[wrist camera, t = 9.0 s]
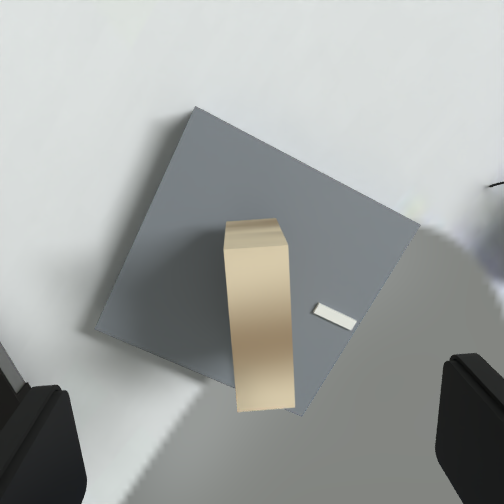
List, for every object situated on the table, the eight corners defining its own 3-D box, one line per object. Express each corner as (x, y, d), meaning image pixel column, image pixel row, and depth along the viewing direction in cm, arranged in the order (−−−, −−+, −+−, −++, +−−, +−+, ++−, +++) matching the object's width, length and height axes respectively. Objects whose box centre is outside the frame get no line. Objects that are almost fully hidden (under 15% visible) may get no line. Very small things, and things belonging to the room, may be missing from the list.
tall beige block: (226, 217, 22) (223, 249, 16) (274, 214, 22) (288, 244, 16) (240, 390, 25) (242, 471, 19) (283, 387, 25) (297, 466, 19)
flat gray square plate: (104, 314, 26) (93, 330, 24) (198, 107, 23) (194, 105, 21) (297, 396, 28) (302, 418, 26) (406, 217, 25) (422, 225, 23)
